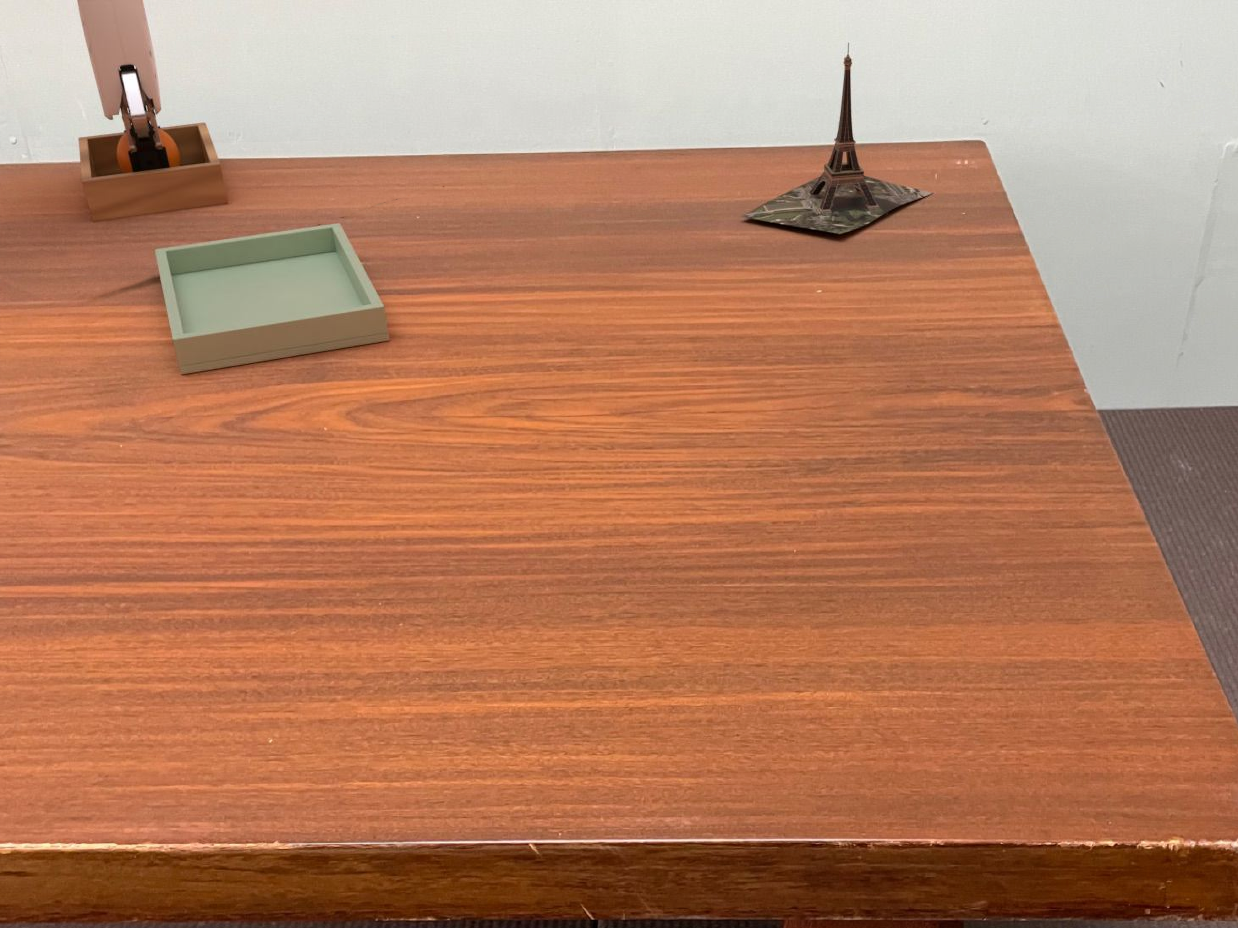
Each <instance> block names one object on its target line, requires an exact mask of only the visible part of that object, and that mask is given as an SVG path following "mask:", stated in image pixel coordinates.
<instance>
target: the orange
mask: <svg viewBox="0 0 1238 928" xmlns="http://www.w3.org/2000/svg"><path fill="white" fill-rule="evenodd" d="M158 130H159V134H160V139H161V143H162V147H163V146H165V147H166V152H167V156H168V160H169V165H170V168H172V167H179V166H180V155H179V151H178V148H177V146H176V144H175V142H174V140H173V139H172V138H171V137H170V136H169V135H168V134H167V133H166V132H165V131H163V130H161V129H159V128H158ZM153 137H154V135H153ZM134 141H135V140H134ZM154 141H155V139H154ZM155 146H156V145H155ZM136 150H137V148H136ZM128 151H130V147H129V143H128V138H127V134H126V132H125V133H124V135H123V136H122V137H121V139H120V141H119V143H118V147H117V160H118V163H119V166H120V168H121V170H122V172H123V173H124V174H125V173H133V171H132V167H131V163H130V158H129V154H128Z"/></svg>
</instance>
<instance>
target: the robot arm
mask: <svg viewBox="0 0 1238 928" xmlns="http://www.w3.org/2000/svg"><path fill="white" fill-rule="evenodd" d="M76 1H77V6H78V12H79V17H80V23H81V27H82V31H83V35H84V39H85V44H86V48H87V51H88V56H89V59H90V64H91V68H92V72H93V75H94V80H95V83H96V87H97V92H98V95H99V99H100V103H101V107H102V111H103V116H104V117H105V118H106V119H108V120H109V121H114V116H119V115H120V113H121V120H122V122H123V125H124V130H123V132H124V133H125V132H126V134H127V138H128V143H129V147H130V151H128V154H129V158H130V163H131V167H132V171H133V172H140V171H148V170H156V169H164V168H170V165H169V160H168V156H167V152H166V147H165V146H163V147H162V143H161V139H160V134H159V130H158V128H159V129H160V128H161V126H160V125H158V122H157V115H158V114H159V113H160V112H161V111H162V102H161V94H160V93H161V92H160V85H159V76H158V70H157V63H156V58H155V52H154V48H153V42H152V37H151V33H150V28H149V23H148V19H147V14H146V13H147V12H146V10H145V5H144V0H76ZM153 135H154V137H153ZM154 139H155V141H154ZM134 140H135V141H134ZM155 145H156V146H155ZM136 148H137V150H136Z"/></svg>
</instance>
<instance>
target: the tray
mask: <svg viewBox="0 0 1238 928" xmlns="http://www.w3.org/2000/svg"><path fill="white" fill-rule="evenodd" d="M154 253H155V259H156V264H157V269H158V273H159V279H160V283H161V288H162V293H163V298H164V304H165V309H166V313H167V318H168V319H167V320H168V324H169V329H170V335H171V338H172V339H171V340H172V343H173V347H174V351H175V355H176V359H177V363H178V367H179V372H180V375H186V374H187V375H188V374H193V373H200V372H206V371H212V370H216V369H217V370H219V369H223V368H230V367H236V366H242V365H249V364H254V363H261V362H267V361H272V360H278V359H285V358H290V357H291V358H292V357H296V356H302V355H309V354H314V353H315V354H316V353H322V352H327V351H333V350H339V349H346V348H352V347H357V346H363V345H370V344H376V343H382V342H383V343H384V342H387V341H390V334H389V328H388V321H387V314H386V308H385V305H384V303H383V301H382V300H381V298H380V296H379V294H378V292H377V289H376V287H375V286H374V284H373V282H372V281H371V279H370V276H369V274H368V273H367V271H366V269H365V267H364V266H363V263H362V262H361V260H360V258H359V256H358V254H357V253H356V250H355V249H354V247H353V245H352V244H351V241H350V239H349V238H348V235H347V234H346V232H345V230H344V228H343V227H342V225H341V223H340V222H337V223H331V224H324V225H323V224H322V225H317V226H311V227H310V226H309V227H302V228H295V229H288V230H281V231H273V232H267V233H260V234H253V235H246V236H238V237H231V238H224V239H217V240H210V241H204V242H203V241H202V242H196V243H189V244H182V245H175V246H168V247H167V246H166V247H160V248H155V249H154Z"/></svg>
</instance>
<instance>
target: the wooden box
mask: <svg viewBox="0 0 1238 928" xmlns="http://www.w3.org/2000/svg"><path fill="white" fill-rule="evenodd" d="M160 129H161V130H163V131H165V132H166V133H167V134H168V135H169V136H170V137H171V138H172V139H173V140H174V142H175V144H176V146H177V148H178V151H179V155H180V166H179V167H172V168H164V169H156V170H148V171H140V172H133V173H125V174H124V173H123V172H122V170H121V168H120V166H119V163H118V160H117V147H118V143H119V141H120V139H121V137H122V136H123V135H124V131H123V132H122V131H121V132H114V133H106V134H105V133H104V134H97V135H89V136H81V137H78V138H77V139H78V150H79V161H80V173H81V174H80V175H81V183H82V186H83V190H84V194H85V198H86V201H87V205H88V208H89V212H90V217H91V221H92V223H99V222H106V221H115V220H121V219H122V220H123V219H129V218H137V217H143V216H151V215H158V214H159V215H160V214H165V213H172V212H173V213H174V212H181V211H186V210H187V211H188V210H195V209H201V208H203V209H204V208H210V207H217V206H224V205H229V198H228V193H227V187H226V184H225V178H224V174H223V169H222V164H221V162H220V159H219V156H218V154H217V151H216V148H215V145H214V143H213V140H212V137H211V134H210V131H209V129H208V126H207V123H206V122H196V123H189V124H179V125H172V126H171V125H170V126H164V127H160Z"/></svg>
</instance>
